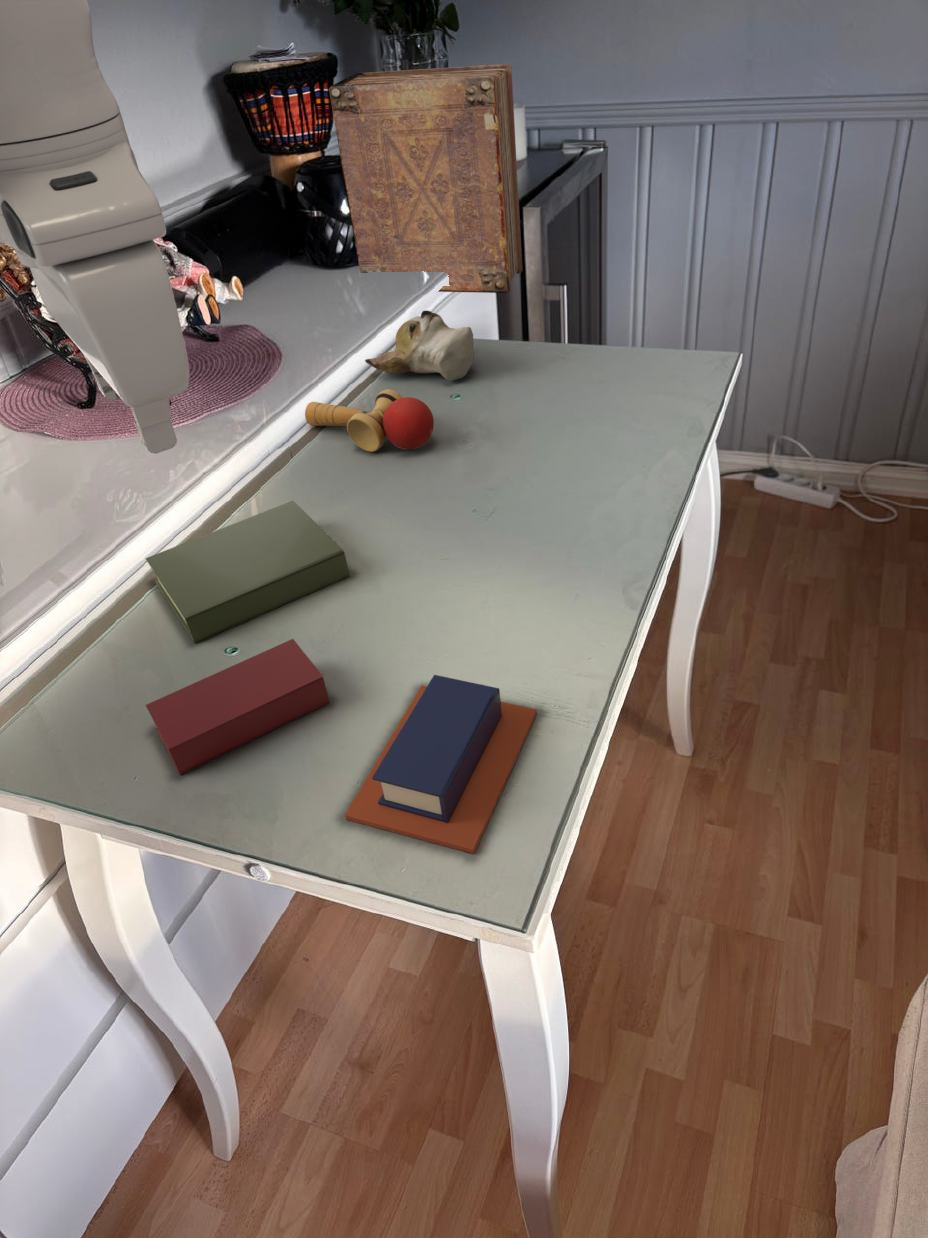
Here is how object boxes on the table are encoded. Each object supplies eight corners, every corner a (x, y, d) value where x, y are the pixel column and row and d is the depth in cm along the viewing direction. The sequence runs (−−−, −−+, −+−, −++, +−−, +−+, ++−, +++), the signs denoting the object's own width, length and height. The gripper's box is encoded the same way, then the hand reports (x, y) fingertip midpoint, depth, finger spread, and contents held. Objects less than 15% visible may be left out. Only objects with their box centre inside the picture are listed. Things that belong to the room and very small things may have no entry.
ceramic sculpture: (443, 330, 112) (352, 320, 120) (454, 396, 117) (366, 382, 125) (491, 300, 118) (402, 293, 126) (499, 364, 123) (412, 353, 131)
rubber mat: (474, 854, 62) (473, 849, 62) (345, 819, 66) (344, 815, 65) (537, 713, 72) (536, 709, 72) (422, 689, 75) (421, 685, 75)
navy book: (448, 823, 64) (443, 795, 62) (378, 804, 66) (372, 777, 64) (502, 715, 72) (499, 688, 70) (438, 701, 73) (434, 674, 72)
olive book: (194, 643, 83) (185, 618, 81) (154, 582, 91) (145, 558, 89) (349, 576, 89) (344, 550, 87) (299, 524, 97) (293, 500, 95)
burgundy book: (180, 775, 71) (168, 749, 69) (156, 730, 75) (145, 704, 73) (330, 702, 75) (322, 676, 73) (300, 664, 79) (293, 638, 77)
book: (524, 272, 151) (513, 63, 132) (509, 293, 144) (495, 75, 125) (382, 271, 158) (352, 72, 139) (362, 290, 151) (328, 85, 132)
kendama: (295, 450, 113) (411, 460, 103) (285, 399, 110) (403, 404, 100) (336, 433, 118) (450, 440, 109) (327, 384, 115) (443, 387, 106)
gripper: (-37, 168, 55) (51, 382, 64) (35, 239, 41) (135, 501, 50) (68, 146, 57) (138, 355, 66) (170, 206, 43) (242, 462, 52)
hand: (138, 419), depth 58 cm, fingers open, 8 cm apart
